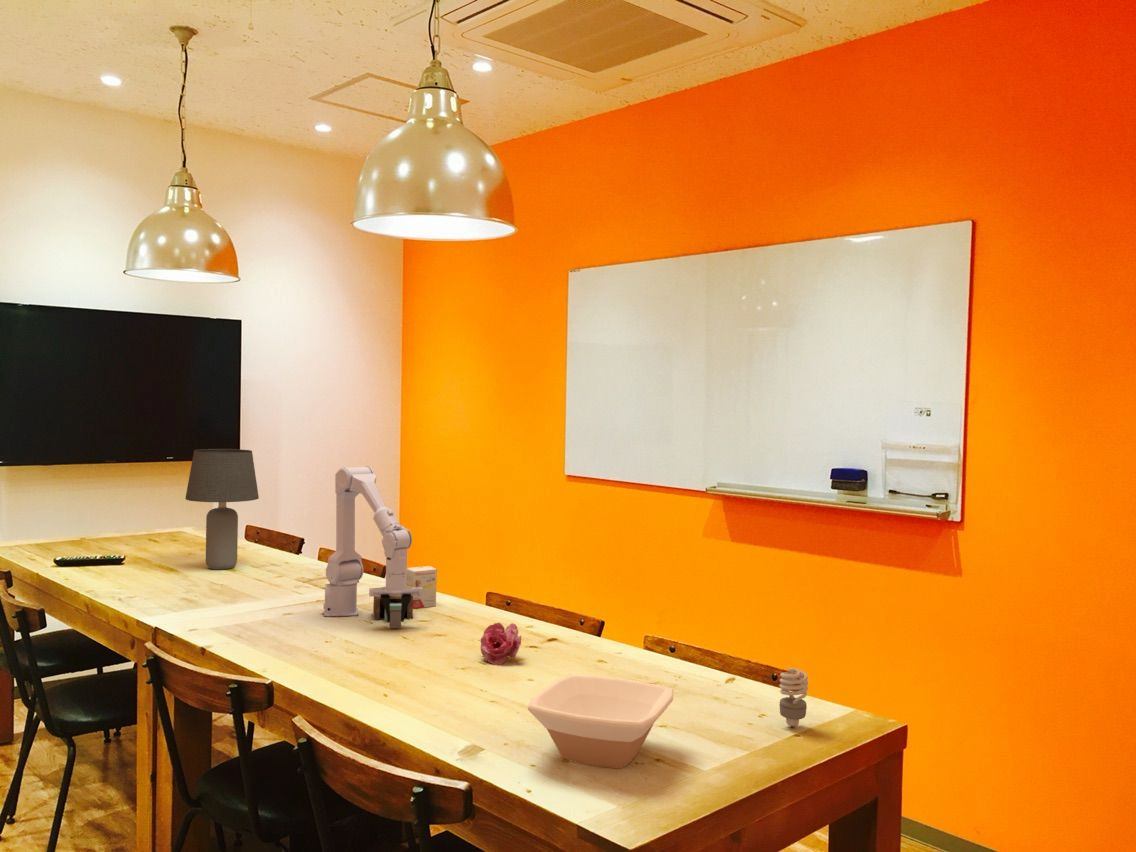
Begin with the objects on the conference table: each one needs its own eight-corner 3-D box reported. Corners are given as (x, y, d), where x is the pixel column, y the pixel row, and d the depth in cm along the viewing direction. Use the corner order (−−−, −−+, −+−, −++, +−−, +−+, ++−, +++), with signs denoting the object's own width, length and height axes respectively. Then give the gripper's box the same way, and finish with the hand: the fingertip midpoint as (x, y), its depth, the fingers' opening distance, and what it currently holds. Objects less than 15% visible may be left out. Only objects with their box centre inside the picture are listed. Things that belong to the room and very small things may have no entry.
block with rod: (386, 628, 257) (386, 612, 257) (384, 617, 271) (384, 602, 271) (404, 627, 258) (404, 611, 258) (401, 617, 272) (402, 602, 272)
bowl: (515, 766, 164) (517, 707, 164) (565, 722, 187) (566, 670, 187) (644, 790, 156) (646, 727, 156) (680, 741, 179) (682, 686, 179)
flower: (499, 680, 225) (476, 647, 224) (491, 671, 235) (469, 639, 233) (536, 650, 228) (514, 618, 227) (527, 643, 238) (505, 612, 236)
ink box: (411, 609, 282) (412, 570, 282) (404, 606, 286) (405, 568, 286) (436, 606, 287) (437, 568, 287) (429, 603, 291) (430, 565, 291)
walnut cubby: (374, 619, 268) (374, 596, 268) (373, 613, 276) (373, 590, 276) (412, 618, 270) (413, 595, 270) (410, 612, 278) (411, 590, 278)
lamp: (243, 575, 327) (245, 453, 326) (172, 573, 327) (173, 451, 326) (267, 562, 352) (269, 449, 351) (201, 560, 352) (203, 447, 351)
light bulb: (774, 722, 191) (776, 664, 190) (801, 722, 191) (803, 664, 191) (783, 732, 185) (785, 672, 185) (810, 732, 186) (812, 672, 185)
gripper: (370, 575, 253) (369, 625, 254) (423, 574, 256) (422, 623, 257) (369, 571, 260) (368, 619, 260) (421, 570, 263) (420, 617, 264)
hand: (395, 621), depth 259 cm, fingers closed on block with rod, 3 cm apart
